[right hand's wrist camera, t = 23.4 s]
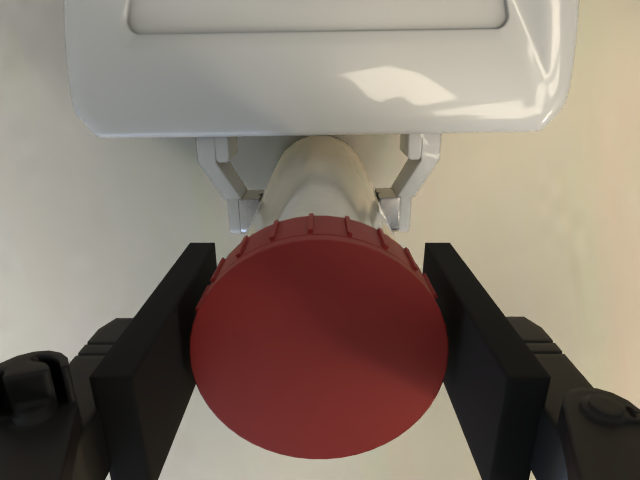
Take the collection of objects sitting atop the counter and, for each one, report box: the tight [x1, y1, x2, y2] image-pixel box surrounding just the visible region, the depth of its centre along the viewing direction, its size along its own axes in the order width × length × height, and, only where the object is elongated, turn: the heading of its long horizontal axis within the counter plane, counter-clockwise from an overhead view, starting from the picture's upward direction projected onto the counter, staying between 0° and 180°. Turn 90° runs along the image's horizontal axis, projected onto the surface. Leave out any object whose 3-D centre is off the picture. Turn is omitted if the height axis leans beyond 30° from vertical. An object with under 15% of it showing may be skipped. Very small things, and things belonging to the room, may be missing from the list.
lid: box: [189, 213, 449, 459], centre depth 11 cm, size 6×6×2 cm
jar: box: [241, 135, 398, 243], centre depth 19 cm, size 6×6×17 cm
